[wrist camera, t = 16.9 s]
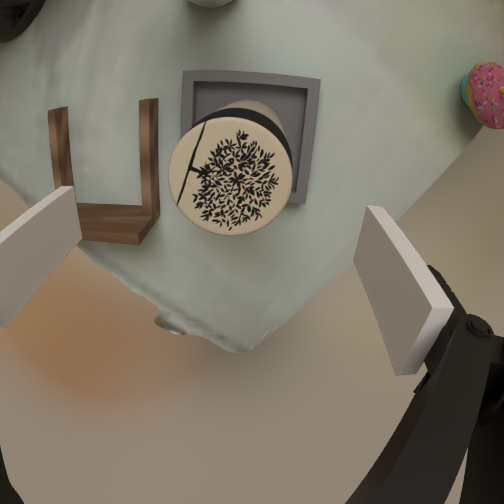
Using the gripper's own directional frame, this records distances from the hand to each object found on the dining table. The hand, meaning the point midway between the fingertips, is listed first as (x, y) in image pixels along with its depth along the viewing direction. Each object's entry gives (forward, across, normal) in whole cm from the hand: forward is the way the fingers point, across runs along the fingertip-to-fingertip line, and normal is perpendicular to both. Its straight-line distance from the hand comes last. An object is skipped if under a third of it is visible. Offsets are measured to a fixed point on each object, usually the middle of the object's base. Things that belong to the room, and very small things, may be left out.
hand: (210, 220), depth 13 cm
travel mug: (+24, 0, 0) cm, 24 cm away
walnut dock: (+25, -18, -4) cm, 31 cm away
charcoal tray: (+25, 0, 0) cm, 25 cm away
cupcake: (+25, +29, +11) cm, 39 cm away
